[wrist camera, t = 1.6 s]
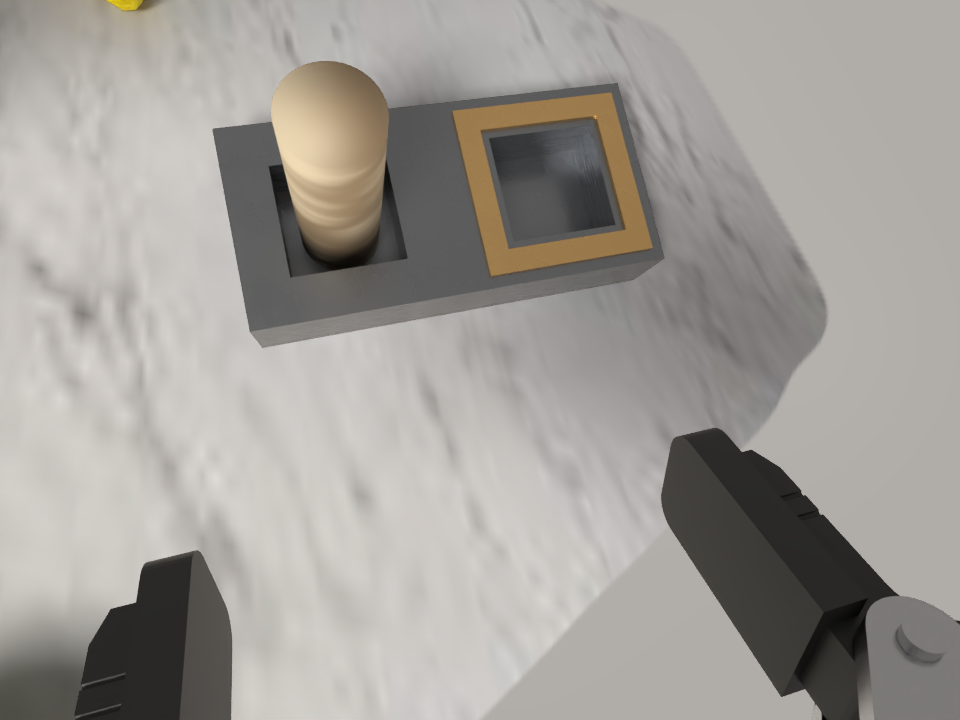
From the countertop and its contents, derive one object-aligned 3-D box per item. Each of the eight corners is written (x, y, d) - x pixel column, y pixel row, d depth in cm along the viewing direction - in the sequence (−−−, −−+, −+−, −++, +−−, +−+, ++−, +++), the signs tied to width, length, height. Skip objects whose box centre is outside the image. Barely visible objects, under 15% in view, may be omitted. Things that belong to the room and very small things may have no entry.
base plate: (262, 347, 34) (249, 330, 30) (228, 166, 35) (211, 126, 31) (633, 279, 38) (666, 257, 34) (591, 121, 39) (618, 80, 35)
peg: (309, 277, 34) (282, 175, 22) (294, 204, 34) (261, 67, 22) (385, 264, 34) (399, 160, 23) (370, 193, 35) (376, 55, 23)
